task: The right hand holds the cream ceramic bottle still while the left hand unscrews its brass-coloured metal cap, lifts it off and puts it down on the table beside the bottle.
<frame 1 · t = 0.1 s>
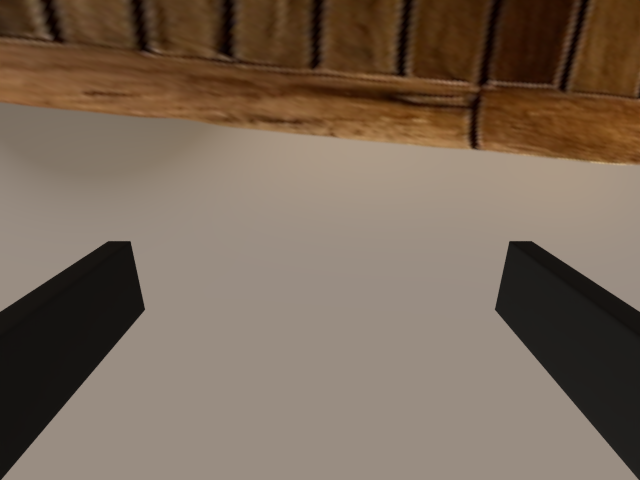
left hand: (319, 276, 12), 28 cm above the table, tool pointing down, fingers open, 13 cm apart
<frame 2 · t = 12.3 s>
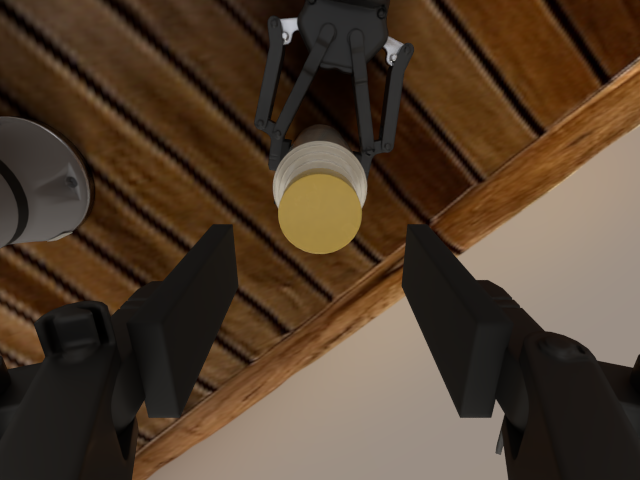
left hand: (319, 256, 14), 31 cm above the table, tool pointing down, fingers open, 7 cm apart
right hand: (312, 206, 39), fingers closed on bottle, 7 cm apart
cap: (319, 214, 19), point 26 cm above the table, screwed on, not yet turned
bottle: (319, 152, 43), on the table, touching right hand
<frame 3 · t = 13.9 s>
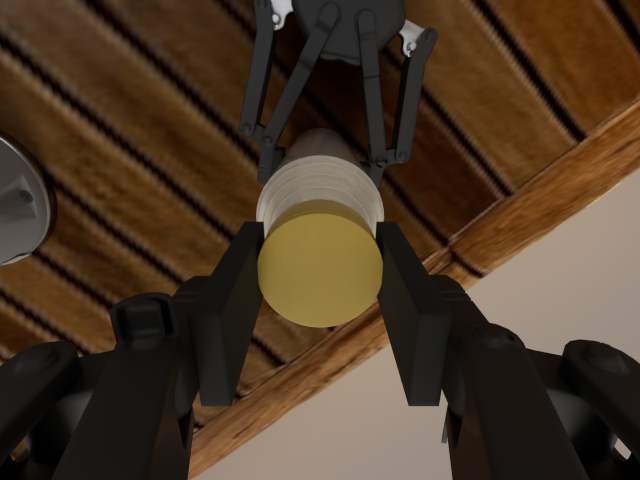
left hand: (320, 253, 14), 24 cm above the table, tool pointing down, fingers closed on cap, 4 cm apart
right hand: (310, 227, 32), fingers closed on bottle, 7 cm apart
cap: (320, 270, 13), point 26 cm above the table, screwed on, not yet turned, touching left hand
bottle: (320, 161, 37), on the table, touching right hand
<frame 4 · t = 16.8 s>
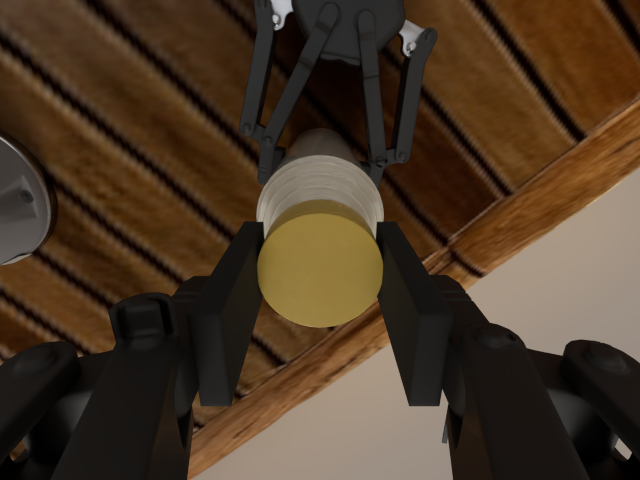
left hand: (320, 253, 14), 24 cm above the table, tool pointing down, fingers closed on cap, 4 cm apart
right hand: (310, 226, 32), fingers closed on bottle, 7 cm apart
cap: (320, 270, 13), point 26 cm above the table, turned 85° so far, risen 0.1 cm, still on its thread, touching left hand
bottle: (320, 161, 37), on the table, touching right hand
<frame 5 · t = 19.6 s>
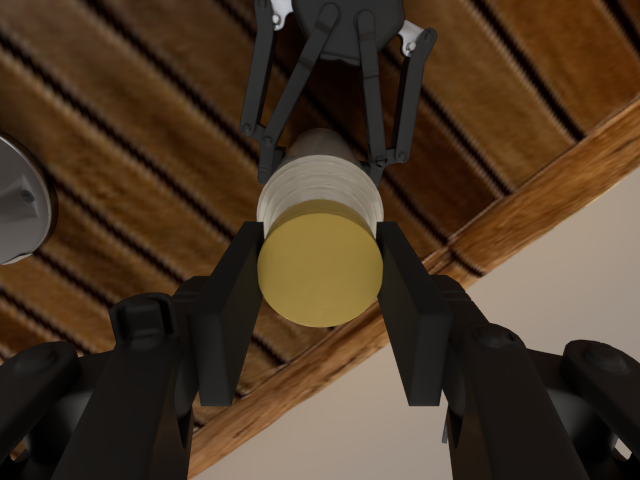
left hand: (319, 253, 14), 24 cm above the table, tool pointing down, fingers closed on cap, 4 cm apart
right hand: (310, 226, 32), fingers closed on bottle, 7 cm apart
cap: (320, 270, 13), point 26 cm above the table, turned 171° so far, risen 0.2 cm, still on its thread, touching left hand
bottle: (320, 160, 37), on the table, touching right hand
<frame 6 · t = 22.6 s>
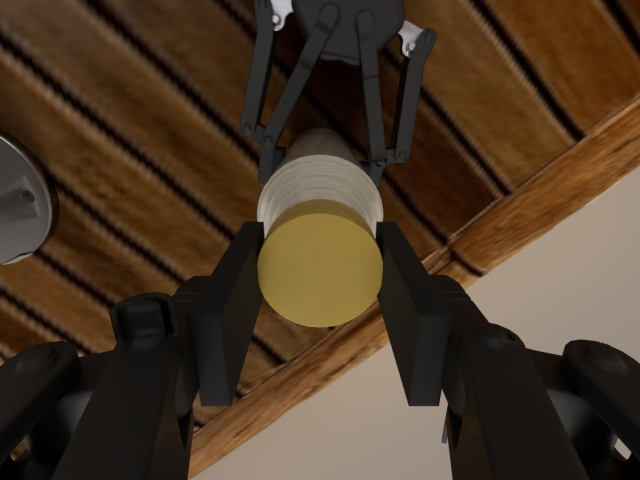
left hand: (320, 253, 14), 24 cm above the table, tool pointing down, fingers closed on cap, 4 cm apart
right hand: (310, 226, 32), fingers closed on bottle, 7 cm apart
cap: (320, 270, 13), point 26 cm above the table, turned 256° so far, risen 0.2 cm, still on its thread, touching left hand
bottle: (319, 160, 37), on the table, touching right hand
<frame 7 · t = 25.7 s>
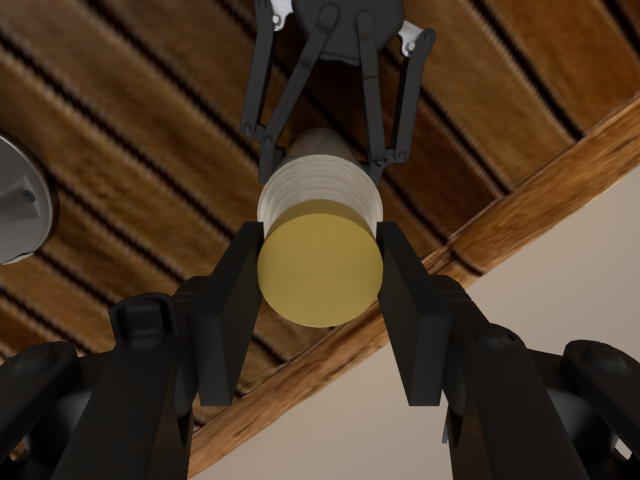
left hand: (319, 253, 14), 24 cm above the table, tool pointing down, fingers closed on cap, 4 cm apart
right hand: (310, 225, 32), fingers closed on bottle, 7 cm apart
cap: (320, 270, 13), point 26 cm above the table, turned 341° so far, risen 0.3 cm, still on its thread, touching left hand
bottle: (320, 160, 37), on the table, touching right hand
when the left hand's fingers open (1 cm above the table, at t = 33.5 s): cap drops 1 cm, point 2 cm above the table.
when the right hand's fingers open (7 cm above the table, at t = 34.7 s): bottle stays where it is, on the table.
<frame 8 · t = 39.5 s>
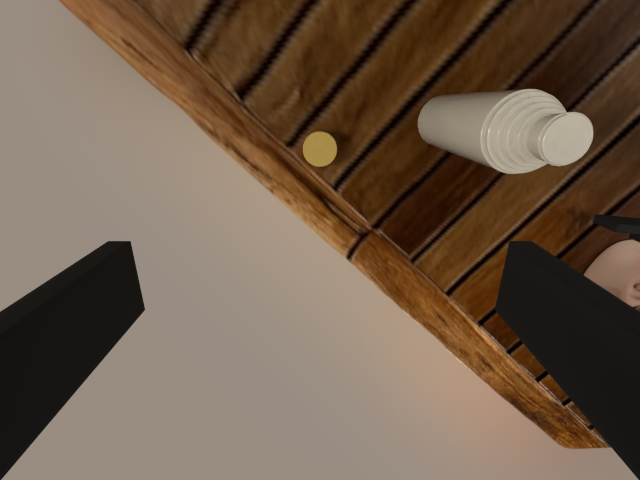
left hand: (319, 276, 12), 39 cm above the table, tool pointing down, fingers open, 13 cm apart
cap: (319, 149, 47), point 2 cm above the table, off its thread
bottle: (442, 121, 47), on the table
anatomical model: (627, 270, 55), on the table
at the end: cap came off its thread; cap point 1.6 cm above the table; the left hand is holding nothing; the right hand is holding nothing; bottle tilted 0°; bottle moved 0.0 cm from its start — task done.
